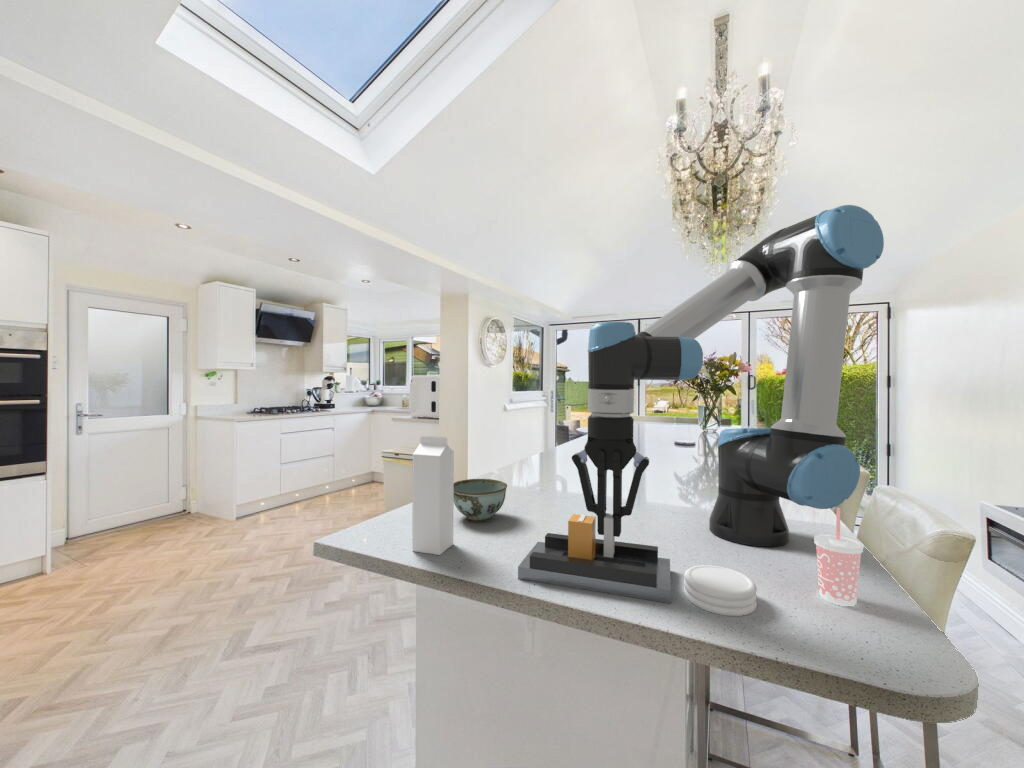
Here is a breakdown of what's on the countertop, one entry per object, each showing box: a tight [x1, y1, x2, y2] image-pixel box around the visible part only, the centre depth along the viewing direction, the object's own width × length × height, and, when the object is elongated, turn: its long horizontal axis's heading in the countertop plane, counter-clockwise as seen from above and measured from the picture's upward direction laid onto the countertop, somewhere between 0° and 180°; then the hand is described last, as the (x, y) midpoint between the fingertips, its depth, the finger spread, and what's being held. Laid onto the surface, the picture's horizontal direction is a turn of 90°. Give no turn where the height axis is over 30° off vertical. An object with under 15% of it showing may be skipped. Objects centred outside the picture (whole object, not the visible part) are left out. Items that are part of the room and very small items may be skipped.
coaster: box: [683, 564, 758, 617], centre depth 67 cm, size 10×10×4 cm
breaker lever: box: [567, 513, 597, 560], centre depth 76 cm, size 4×4×7 cm
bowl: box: [454, 478, 508, 523], centre depth 105 cm, size 14×13×8 cm
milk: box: [411, 435, 455, 556], centre depth 86 cm, size 6×6×22 cm
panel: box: [517, 532, 672, 604], centre depth 75 cm, size 24×12×4 cm, turn 71°
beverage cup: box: [813, 506, 865, 605], centre depth 67 cm, size 6×6×14 cm
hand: (609, 554), depth 74 cm, fingers closed
